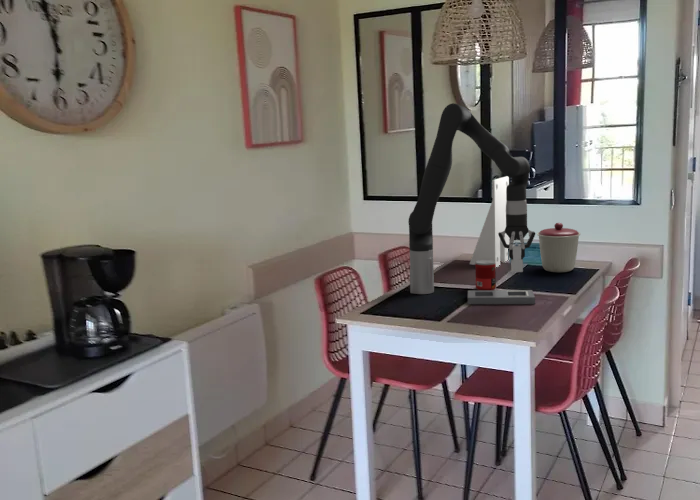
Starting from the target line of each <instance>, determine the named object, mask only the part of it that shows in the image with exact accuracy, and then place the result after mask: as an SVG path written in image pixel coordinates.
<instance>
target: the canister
mask: <svg viewBox="0 0 700 500" xmlns="http://www.w3.org/2000/svg"><path fill="white" fill-rule="evenodd" d="M536 234H537V237H538V243H539V250H540V251H539V252H540V258H541V260H540V261H541V264H542V268H543V269H544V270H545V271H547V272H551V273H568V272H571V271H573V270H574V268H575V266H576V260H577V254H578V248H579V247H578V245H579V236H581V232H579V231H578V230H577V229H573V228H567V227H564V225H563V223H562V222H556V223H555V224H554V226H553V228H552V227H551V228H545V229H541V230H540V231H539V232H537V233H536Z"/></svg>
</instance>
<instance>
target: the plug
mask: <svg viewBox="0 0 700 500" xmlns="http://www.w3.org/2000/svg"><path fill="white" fill-rule="evenodd" d="M512 249H513V259H511V258H510V270H511V273H523V272H524V258H523V259H521V243H520V244H519V243H517V242H516V243H513V248H512Z"/></svg>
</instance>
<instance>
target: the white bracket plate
mask: <svg viewBox="0 0 700 500" xmlns="http://www.w3.org/2000/svg"><path fill="white" fill-rule="evenodd" d="M491 181H492V185H491V186H492V200H491V204H490V207H489V209H488V212H487V215H486V217H485V220H484V223H483V226H482V229H481V232H480V234H479V237H478V240H477V243H476V245H475V247H474V251H473V254H472V256H471V259H470V261H469V265H473V266H475V263H476V261H479V260H493V261H495V263H496V267H497V268H499V267H500V266H501V262H500V261H503V262H502V263H504V262H505V261H507V260H508V248H505V247H504V246H503V243H502V241H501V239H500V237H499V235H498V233H499V232H503V231H505V228H506V188H507V186H508V185H509V184H510V177H508V176H506V175H505V176H502V177H498V178H496V179H492V180H491ZM504 239H505V242H506V244H508V245H509V242H510V238H509V237H508V235H507V234H506V233H505V237H504ZM508 261H509V260H508ZM508 261H507V262H508ZM505 263H506V262H505ZM499 265H500V266H499Z"/></svg>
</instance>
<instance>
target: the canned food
mask: <svg viewBox="0 0 700 500" xmlns="http://www.w3.org/2000/svg"><path fill="white" fill-rule="evenodd" d="M474 266H475V267H474V268H475V269H474V270H475V288H476V290H495V289H496V287H497V278H496V277H497V274H496V273H497V270H496V269H497V268H496V263H495V261H493V260H479V261H476V263H475V265H474Z"/></svg>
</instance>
